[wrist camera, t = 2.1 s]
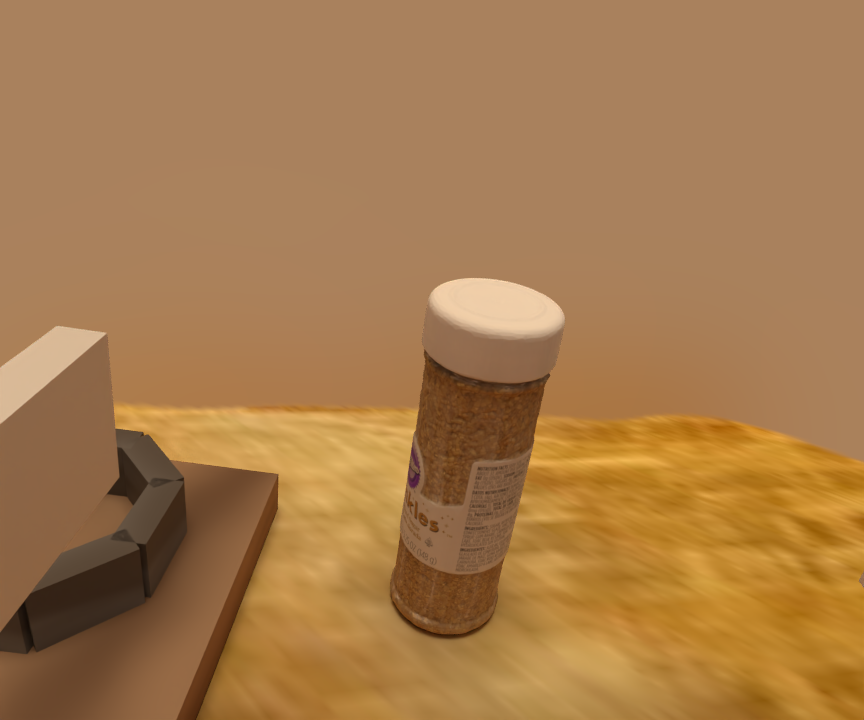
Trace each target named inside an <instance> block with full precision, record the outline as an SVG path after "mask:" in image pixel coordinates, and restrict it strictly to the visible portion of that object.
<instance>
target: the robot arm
mask: <svg viewBox="0 0 864 720" xmlns="http://www.w3.org/2000/svg"><path fill="white" fill-rule="evenodd" d="M110 373H111V372H110V361H109V349H108V337H107V333H103V332H96V331H89V330H83V329H75V328H68V327H62V326H56V327H55V328H54V329H52V330H51V331H50V332H48V333H47V334H45V335H44V336H43V337H41V338H40V339H39V340H37V341H36V342H34V343H33V344H32V345H30V346H29V347H28V348H27V349H25V350H23V351H22V352H21V353H19V354H18V355H17V356H15V357H14V358H13V359H11V360H10V361H8V362H7V363H6V364H4V365H3V366H2V367H0V632H1V631H2V629H3V628H4V627H5V625H6V624H7V623H8V622H9V620H10V619H11V618H12V616H13V615H14V614H15V612H16V611H17V610H18V609H19V607H20V606H21V605H22V603H23V602H24V601H25V599H26V598H27V597H28V596H29V594H30V593H31V592H32V590H33V589H34V588H35V586H36V585H37V584H38V582H39V581H40V580H41V579H42V577H43V576H44V575H45V573H46V572H47V571H48V569H49V568H50V567H51V566H52V564H53V563H54V562H55V560H56V559H57V558H58V556H59V555H60V554H61V553H62V551H63V550H64V549H65V547H66V546H67V545H68V543H69V542H70V541H71V540H72V538H73V537H74V536H75V534H76V533H77V532H78V530H79V529H80V528H81V527H82V525H83V524H84V523H85V521H86V520H87V519H88V517H89V516H90V515H91V513H92V512H93V511H94V510H95V508H96V507H97V506H98V504H99V503H100V502H101V500H102V499H103V498H104V497H105V495H106V494H107V493H108V491H109V490H110V489H111V487H112V486H113V485H114V484H115V482H116V481H117V480H118V478H119V465H118V454H117V442H116V430H115V419H114V407H113V396H112V384H111V374H110ZM859 582H860V583H861V584H862V586H863V587H864V572H863V574H862V576H861V578H860V579H859Z"/></svg>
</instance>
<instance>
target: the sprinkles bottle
mask: <svg viewBox="0 0 864 720" xmlns="http://www.w3.org/2000/svg"><path fill="white" fill-rule="evenodd" d="M564 324H565V318H564V314H563V312H562V311H561V308H560V307H559V306H558V305H557V304H556V303H555V302H554V301H553V300H551V299H550V298H548V297H547V296H545V295H543V294H541V293H539V292H537V291H535V290H533V289H531V288H528V287H525V286H522V285H519V284H515V283H511V282H507V281H501V280H495V279H484V278H466V279H458V280H453V281H449V282H446V283H443V284H441V285H439V286H438V287H436V288H435V289H434V290H433V291H432V293H431V294H430V296H429V299H428V305H427V309H426V315H425V322H424V329H423V337H422V342H423V346H424V357H425V359H426V360H425V370H424V374H423V383H422V390H421V394H420V404H419V412H418V419H417V425H416V431H415V432H414V436H413V443H412V450H411V456H410V464H409V471H408V478H407V485H406V491H405V497H404V504H403V510H402V516H401V524H400V532H401V533H400V540H399V548H398V554H397V561H396V566H395V568H394V570H393V573H392V577H391V582H390V589H391V594H392V600H393V601H394V603H395V604H396V607H397V609H398V610H399V611H400V612H401V613H402V615H403V616H404V617H405V618H407V619H408V620H410V621H411V622H412V623H413V624H414V625H416V626H417V627H420V628H423V629H425V630H428V631H430V632H433V633H438V634H450V635H451V634H463V633H466V632H469V631H471V630H473V629H475V628H478V627H480V626H481V625H483V624H484V623H485V622H486V621H487V620H488V619H489V618H490V616H491V615H492V614H493V613H494V609H495V606H496V603H497V597H498V595H497V586H498V582H499V577H500V573H501V569H502V565H503V561H504V557H505V555H506V553H507V551H508V548H509V544H510V540H511V536H512V532H513V527H514V523H515V519H516V515H517V511H518V507H519V503H520V498H521V494H522V490H523V486H524V482H525V477H526V473H527V469H528V465H529V460H530V456H531V452H532V448H533V443H534V433H535V427H536V423H537V418H538V415H539V411H540V406H541V401H542V397H543V393H544V386H545V384H546V382H547V380H548V378H549V377H550V374H549V373H550V371H551V370H552V369H553V368H554V366H555V364H556V361H557V356H558V353H559V349H560V345H561V340H562V335H563V330H564Z"/></svg>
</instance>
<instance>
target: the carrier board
mask: <svg viewBox="0 0 864 720" xmlns="http://www.w3.org/2000/svg"><path fill="white" fill-rule="evenodd" d="M115 430H116V442H117V454H118V465H119V478H118V480H117V481H116V482H115V484H114V485H113V486H112V487H111V489H110V490H109V491H108V493H107V494H106V495H105V497H104V498H103V499H102V500H101V502H100V503H99V504H98V506H97V507H96V508H95V510H94V511H93V512H92V513H91V515H90V516H89V517H88V519H87V520H86V521H85V523H84V524H83V525H82V527H81V528H80V529H79V530H78V532H77V533H76V534H75V536H74V537H73V538H72V540H71V541H70V542H69V543H68V545H67V546H66V547H65V549H64V550H63V551H62V553H61V554H60V555H59V556H58V558H57V559H56V560H55V562H54V563H53V564H52V566H51V567H50V568H49V569H48V571H47V572H46V573H45V575H44V576H43V577H42V579H41V580H40V581H39V582H38V584H37V585H36V586H35V588H34V589H33V590H32V592H31V593H30V594H29V596H28V597H27V598H26V599H25V601H24V602H23V603H22V605H21V606H20V607H19V609H18V610H17V611H16V612H15V614H14V615H13V616H12V618H11V619H10V620H9V622H8V623H7V624H6V625H5V627H4V628H3V629H2V631H1V632H0V720H196V717H197V715H198V712H199V710H200V707H201V705H202V702H203V699H204V697H205V694H206V692H207V689H208V686H209V684H210V681H211V679H212V676H213V674H214V671H215V668H216V666H217V663H218V661H219V658H220V656H221V653H222V650H223V648H224V645H225V643H226V640H227V638H228V635H229V632H230V630H231V627H232V625H233V622H234V619H235V617H236V614H237V612H238V609H239V607H240V604H241V601H242V599H243V596H244V594H245V591H246V589H247V586H248V583H249V581H250V578H251V576H252V573H253V570H254V568H255V565H256V563H257V560H258V558H259V555H260V552H261V550H262V547H263V545H264V542H265V540H266V537H267V534H268V532H269V529H270V527H271V524H272V521H273V519H274V516H275V514H276V511H277V509H278V474H273V473H265V472H258V471H250V470H242V469H234V468H227V467H219V466H211V465H203V464H196V463H188V462H180V461H173V460H169V459H168V457H167V456H166V455H165V454H164V453H163V451H162V450H161V449H160V448H159V447H158V445H157V444H156V443H155V442H154V441H153V439H152V438H151V437H150V436H149V435H145V436H144V433H143V432H137V431H130V430H122V429H115Z"/></svg>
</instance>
